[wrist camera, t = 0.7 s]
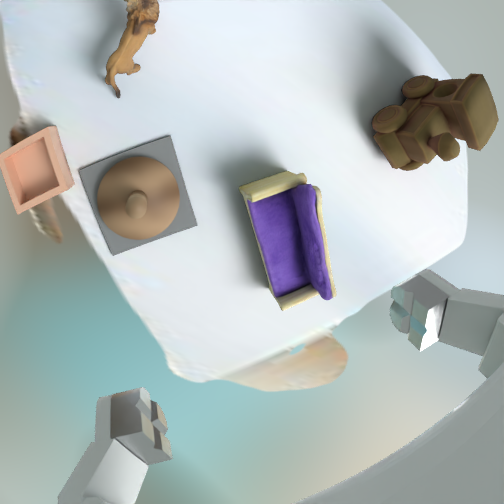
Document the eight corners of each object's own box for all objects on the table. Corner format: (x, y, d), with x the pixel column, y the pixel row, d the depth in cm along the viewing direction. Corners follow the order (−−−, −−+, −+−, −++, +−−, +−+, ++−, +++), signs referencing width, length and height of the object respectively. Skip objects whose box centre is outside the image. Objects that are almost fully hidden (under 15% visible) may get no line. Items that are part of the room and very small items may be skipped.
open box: (7, 152, 31) (-4, 156, 28) (56, 125, 33) (47, 126, 29) (26, 207, 35) (17, 214, 32) (74, 183, 37) (68, 189, 34)
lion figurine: (129, 4, 28) (124, -21, 20) (164, 8, 30) (167, -17, 22) (102, 97, 33) (88, 91, 26) (138, 100, 35) (133, 95, 27)
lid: (87, 174, 37) (77, 181, 32) (165, 144, 39) (166, 147, 34) (116, 248, 42) (111, 263, 38) (189, 221, 44) (193, 234, 40)
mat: (79, 170, 36) (78, 170, 36) (170, 135, 39) (170, 135, 38) (113, 254, 43) (112, 255, 43) (197, 224, 45) (197, 225, 45)
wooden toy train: (414, 68, 44) (482, 69, 30) (438, 112, 50) (501, 123, 35) (358, 126, 46) (431, 139, 32) (388, 172, 52) (455, 197, 38)
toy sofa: (235, 182, 45) (256, 200, 36) (287, 165, 46) (319, 178, 37) (267, 291, 55) (289, 325, 46) (310, 273, 56) (337, 303, 47)
